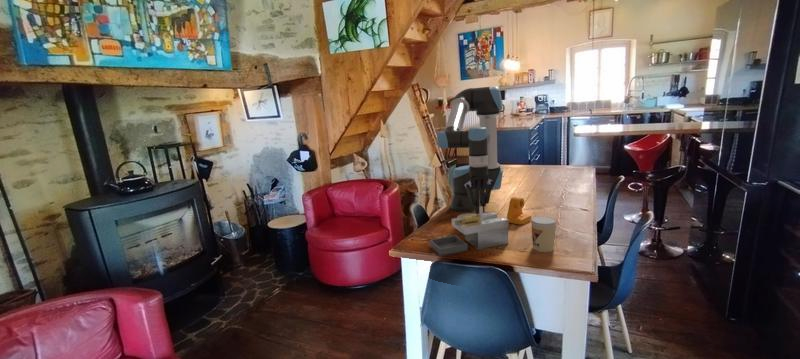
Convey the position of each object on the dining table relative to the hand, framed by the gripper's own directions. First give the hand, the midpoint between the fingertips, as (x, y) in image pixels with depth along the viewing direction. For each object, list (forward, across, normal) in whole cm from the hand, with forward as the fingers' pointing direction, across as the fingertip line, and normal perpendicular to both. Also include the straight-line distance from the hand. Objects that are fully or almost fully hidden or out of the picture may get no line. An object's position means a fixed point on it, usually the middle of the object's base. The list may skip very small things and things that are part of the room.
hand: (480, 220), depth 158 cm
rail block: (+10, 0, 0) cm, 10 cm away
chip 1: (+1, -6, 0) cm, 6 cm away
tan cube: (+1, -2, 0) cm, 3 cm away
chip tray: (+10, -15, 0) cm, 18 cm away
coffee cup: (+10, +19, -16) cm, 27 cm away
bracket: (+10, +29, +15) cm, 34 cm away
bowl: (+10, +3, +16) cm, 19 cm away
